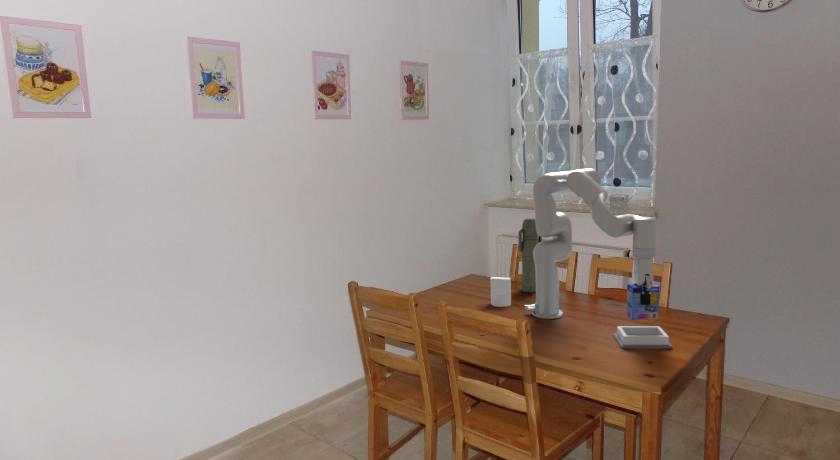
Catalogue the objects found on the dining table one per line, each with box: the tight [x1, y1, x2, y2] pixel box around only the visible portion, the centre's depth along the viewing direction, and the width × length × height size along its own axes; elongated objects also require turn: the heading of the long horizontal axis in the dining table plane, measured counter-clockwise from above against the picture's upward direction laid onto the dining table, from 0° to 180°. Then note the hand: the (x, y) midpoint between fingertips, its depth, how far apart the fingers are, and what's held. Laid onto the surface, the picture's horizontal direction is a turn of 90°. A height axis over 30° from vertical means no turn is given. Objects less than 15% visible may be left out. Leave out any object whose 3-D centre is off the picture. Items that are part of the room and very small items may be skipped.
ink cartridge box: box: [626, 282, 661, 321], centre depth 202 cm, size 10×6×14 cm, turn 95°
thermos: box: [517, 218, 543, 293], centre depth 275 cm, size 9×12×35 cm
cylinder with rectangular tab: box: [489, 276, 512, 308], centre depth 256 cm, size 9×9×12 cm
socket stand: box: [613, 325, 673, 350], centre depth 204 cm, size 17×13×4 cm
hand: (642, 301), depth 202 cm, fingers closed on ink cartridge box, 5 cm apart
